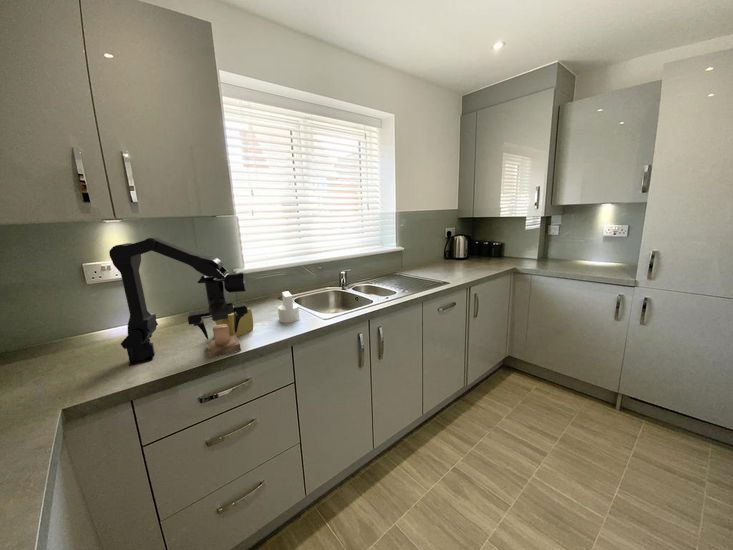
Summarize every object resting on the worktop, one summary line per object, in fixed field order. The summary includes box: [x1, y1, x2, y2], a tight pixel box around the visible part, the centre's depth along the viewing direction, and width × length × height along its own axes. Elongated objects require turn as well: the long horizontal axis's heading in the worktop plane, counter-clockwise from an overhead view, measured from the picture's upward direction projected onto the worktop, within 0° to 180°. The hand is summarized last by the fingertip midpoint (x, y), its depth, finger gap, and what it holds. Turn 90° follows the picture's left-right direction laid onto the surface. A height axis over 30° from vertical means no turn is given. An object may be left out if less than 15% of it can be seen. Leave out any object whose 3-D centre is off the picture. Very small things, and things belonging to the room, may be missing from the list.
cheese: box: [214, 305, 254, 338], centre depth 121 cm, size 10×11×10 cm
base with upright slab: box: [277, 290, 300, 324], centre depth 134 cm, size 9×9×12 cm
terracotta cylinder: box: [212, 324, 230, 345], centre depth 106 cm, size 5×5×6 cm
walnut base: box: [206, 335, 242, 359], centre depth 107 cm, size 10×10×3 cm
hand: (221, 335), depth 107 cm, fingers open, 9 cm apart
